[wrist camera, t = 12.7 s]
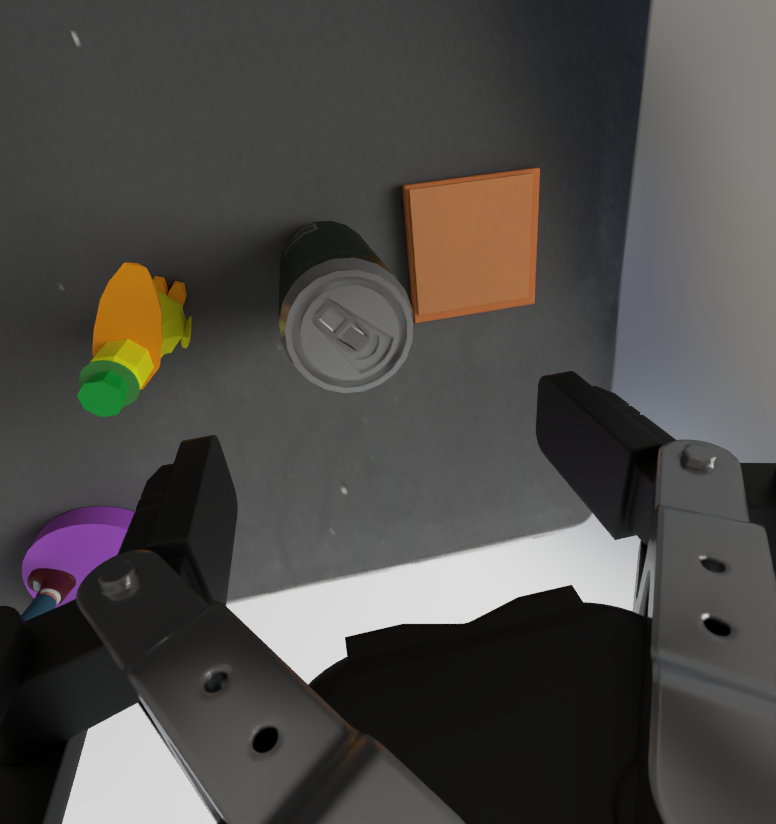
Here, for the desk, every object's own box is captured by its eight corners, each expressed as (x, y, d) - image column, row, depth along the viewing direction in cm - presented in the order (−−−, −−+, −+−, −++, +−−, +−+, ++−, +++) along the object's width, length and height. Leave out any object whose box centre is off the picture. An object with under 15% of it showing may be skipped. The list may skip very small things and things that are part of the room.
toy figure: (140, 223, 26) (48, 274, 16) (210, 242, 27) (166, 301, 17) (130, 340, 29) (46, 448, 19) (194, 353, 30) (148, 462, 20)
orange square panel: (535, 167, 29) (542, 167, 28) (530, 301, 33) (536, 305, 32) (402, 184, 28) (405, 186, 27) (413, 320, 32) (416, 325, 31)
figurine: (20, 507, 33) (-218, 834, 17) (171, 504, 35) (80, 794, 19) (47, 607, 37) (-124, 942, 21) (180, 599, 39) (113, 899, 24)
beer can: (260, 271, 29) (248, 343, 18) (321, 197, 27) (344, 229, 17) (331, 329, 31) (355, 421, 21) (389, 263, 30) (447, 327, 19)
